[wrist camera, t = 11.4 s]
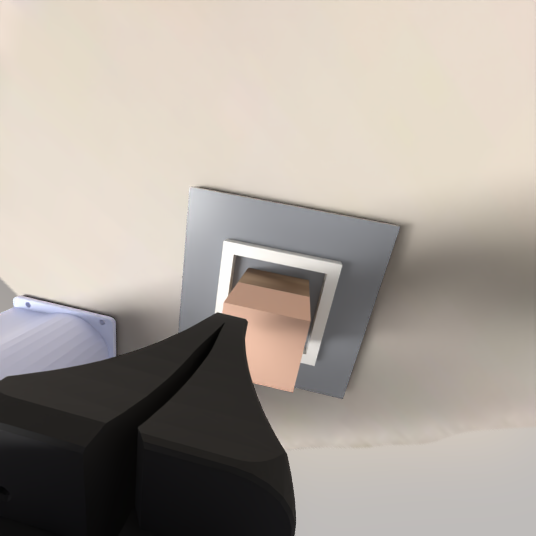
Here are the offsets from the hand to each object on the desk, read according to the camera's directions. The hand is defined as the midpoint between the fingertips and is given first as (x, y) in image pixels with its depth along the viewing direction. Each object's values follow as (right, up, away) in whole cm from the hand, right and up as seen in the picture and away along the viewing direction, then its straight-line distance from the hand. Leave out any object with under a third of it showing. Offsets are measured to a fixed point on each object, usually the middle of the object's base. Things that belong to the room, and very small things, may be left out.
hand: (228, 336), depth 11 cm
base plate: (+2, +1, +9) cm, 10 cm away
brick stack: (+2, 0, +8) cm, 9 cm away
